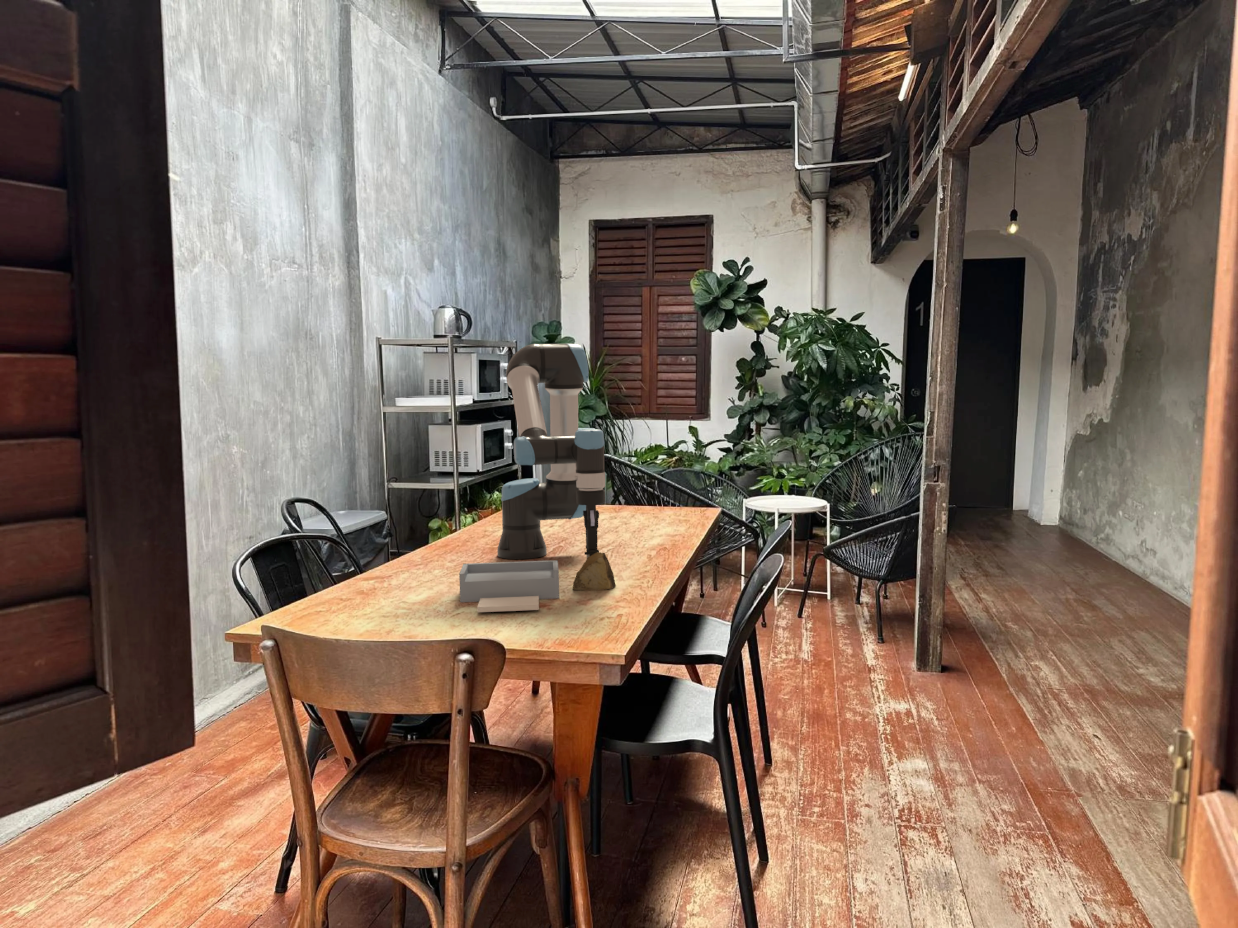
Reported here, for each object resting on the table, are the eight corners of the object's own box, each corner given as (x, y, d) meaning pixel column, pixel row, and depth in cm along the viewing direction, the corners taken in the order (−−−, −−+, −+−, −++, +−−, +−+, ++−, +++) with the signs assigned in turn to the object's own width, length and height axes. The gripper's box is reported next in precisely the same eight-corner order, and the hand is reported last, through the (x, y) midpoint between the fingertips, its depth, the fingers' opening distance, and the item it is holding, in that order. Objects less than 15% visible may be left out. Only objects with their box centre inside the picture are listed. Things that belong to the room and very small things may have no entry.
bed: (464, 590, 218) (463, 563, 217) (558, 586, 220) (557, 560, 219) (460, 602, 206) (459, 573, 205) (559, 598, 208) (558, 570, 207)
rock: (563, 583, 213) (599, 581, 209) (568, 553, 218) (603, 550, 214) (581, 601, 222) (616, 599, 218) (586, 571, 226) (620, 568, 222)
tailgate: (480, 598, 204) (477, 606, 193) (538, 595, 206) (538, 604, 195) (480, 603, 204) (477, 612, 193) (538, 600, 206) (538, 609, 195)
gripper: (574, 486, 226) (576, 573, 228) (577, 492, 213) (579, 584, 215) (602, 485, 227) (604, 572, 229) (607, 491, 214) (608, 583, 216)
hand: (592, 578), depth 222 cm, fingers closed
